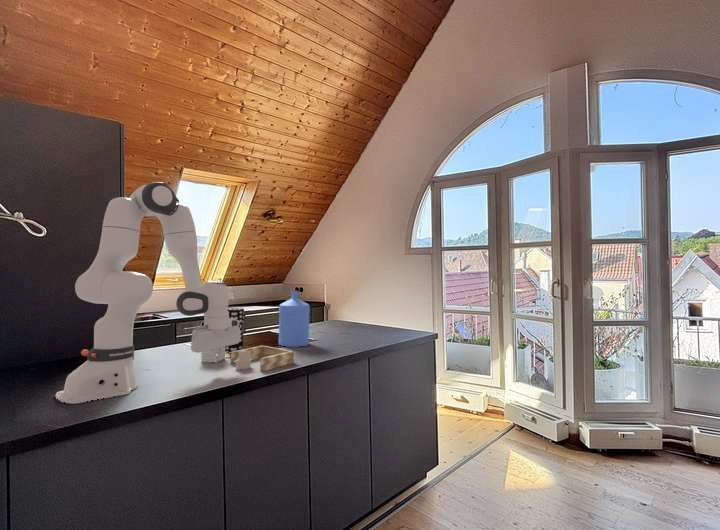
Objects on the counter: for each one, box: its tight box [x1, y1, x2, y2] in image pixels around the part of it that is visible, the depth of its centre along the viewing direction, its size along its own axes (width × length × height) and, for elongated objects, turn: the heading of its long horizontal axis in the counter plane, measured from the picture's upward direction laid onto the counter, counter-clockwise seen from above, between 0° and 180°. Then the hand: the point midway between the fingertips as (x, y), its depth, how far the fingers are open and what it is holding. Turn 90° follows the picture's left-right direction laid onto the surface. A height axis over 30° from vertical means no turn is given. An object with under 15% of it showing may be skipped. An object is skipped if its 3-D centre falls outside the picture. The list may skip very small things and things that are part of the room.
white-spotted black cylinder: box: [225, 307, 245, 353], centre depth 201 cm, size 8×8×20 cm
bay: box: [230, 345, 295, 372], centre depth 177 cm, size 18×19×5 cm
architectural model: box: [234, 350, 254, 371], centre depth 170 cm, size 3×7×7 cm, turn 142°
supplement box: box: [200, 347, 226, 364], centre depth 181 cm, size 7×7×13 cm
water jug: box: [277, 290, 311, 348], centre depth 218 cm, size 16×16×28 cm
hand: (216, 359), depth 160 cm, fingers closed
